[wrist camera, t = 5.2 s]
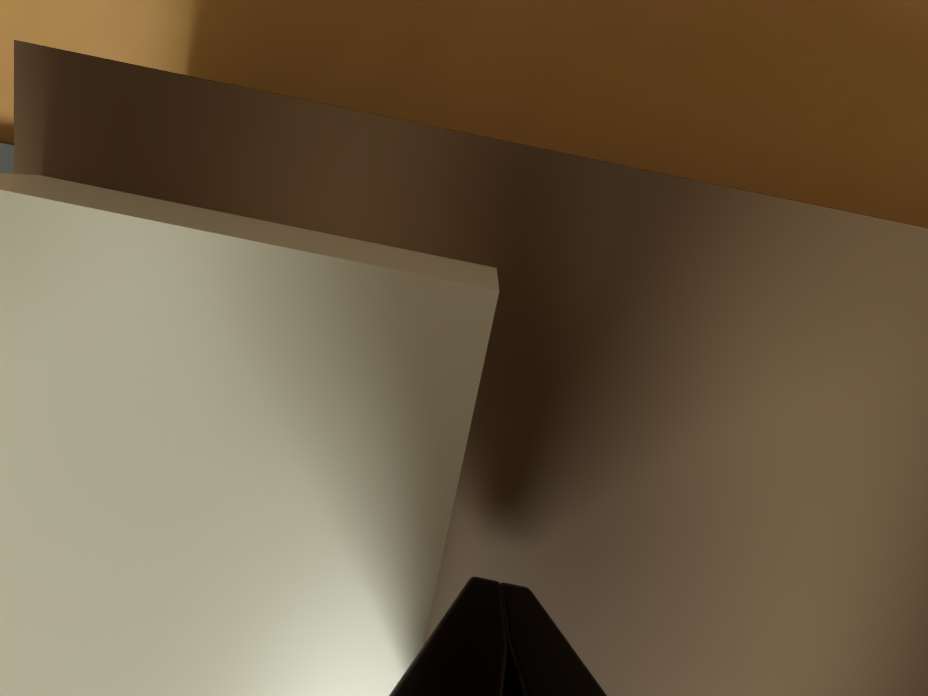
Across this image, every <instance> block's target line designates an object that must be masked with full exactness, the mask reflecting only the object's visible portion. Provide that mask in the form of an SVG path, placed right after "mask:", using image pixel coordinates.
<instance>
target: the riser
mask: <svg viewBox="0 0 928 696" xmlns="http://www.w3.org/2000/svg"><path fill="white" fill-rule="evenodd" d="M14 174H27V175H42V176H47V177H52V178H57V179H62V180H67V181H71V182H76V183H81V184H86V185H91V186H96V187H101V188H106V189H111V190H116V191H121V192H126V193H130V194H135V195H140V196H145V197H150V198H155V199H160V200H165V201H170V202H175V203H180V204H185V205H190V206H194V207H199V208H204V209H209V210H214V211H219V212H224V213H229V214H234V215H239V216H244V217H249V218H254V219H258V220H263V221H268V222H273V223H278V224H283V225H288V226H293V227H298V228H303V229H308V230H313V231H317V232H322V233H327V234H332V235H337V236H342V237H347V238H352V239H357V240H362V241H367V242H372V243H377V244H381V245H386V246H391V247H396V248H401V249H406V250H411V251H416V252H421V253H426V254H431V255H436V256H440V257H445V258H450V259H455V260H460V261H465V262H470V263H475V264H480V265H485V266H490V267H495V268H497V275H498V283H499V295H498V300H497V304H496V309H495V314H494V318H493V323H492V328H491V332H490V337H489V342H488V346H487V351H486V356H485V360H484V365H483V370H482V374H481V379H480V384H479V388H478V393H477V397H476V402H475V407H474V411H473V416H472V421H471V425H470V430H469V435H468V439H467V444H466V449H465V453H464V458H463V463H462V467H461V472H460V477H459V481H458V486H457V491H456V495H455V500H454V505H453V509H452V514H451V519H450V523H449V528H448V533H447V537H446V542H445V547H444V551H443V556H442V561H441V565H440V570H439V575H438V579H437V584H436V589H435V593H434V598H433V603H432V607H431V612H430V617H429V621H428V626H427V631H426V635H425V640H424V644H425V643H426V641H427V640H428V638H429V637H430V635H431V634H432V632H433V631H434V630H435V628H436V627H437V625H438V624H439V622H440V621H441V619H442V618H443V616H444V615H445V614H446V612H447V611H448V609H449V608H450V606H451V605H452V603H453V602H454V601H455V599H456V598H457V596H458V595H459V593H460V592H461V590H462V589H463V587H464V586H465V585H466V583H467V582H468V580H469V579H470V578H471V577H473V576H475V577H480V578H485V579H490V580H495V581H498V582H499V583H502V582H504V583H509V584H514V585H519V586H524V587H527V588H529V589H530V590H531V591H532V592H533V594H534V595H535V596H536V598H537V599H538V601H539V602H540V603H541V605H542V606H543V607H544V609H545V610H546V612H547V613H548V614H549V616H550V617H551V619H552V620H553V621H554V623H555V624H556V625H557V627H558V628H559V630H560V631H561V632H562V634H563V635H564V637H565V638H566V639H567V641H568V642H569V643H570V645H571V646H572V648H573V649H574V650H575V652H576V653H577V655H578V656H579V657H580V659H581V660H582V661H583V663H584V664H585V666H586V667H587V668H588V670H589V671H590V673H591V674H592V675H593V677H594V678H595V679H596V681H597V682H598V684H599V685H600V686H601V688H602V689H603V691H604V692H605V693H606V695H607V696H928V228H924V227H919V226H914V225H909V224H905V223H900V222H895V221H890V220H885V219H880V218H876V217H871V216H866V215H861V214H856V213H851V212H846V211H842V210H837V209H832V208H827V207H822V206H817V205H812V204H808V203H803V202H798V201H793V200H788V199H783V198H778V197H774V196H769V195H764V194H759V193H754V192H749V191H745V190H740V189H735V188H730V187H725V186H720V185H715V184H711V183H706V182H701V181H696V180H691V179H686V178H681V177H677V176H672V175H667V174H662V173H657V172H652V171H648V170H643V169H638V168H633V167H628V166H623V165H618V164H614V163H609V162H604V161H599V160H594V159H589V158H584V157H580V156H575V155H570V154H565V153H560V152H555V151H550V150H546V149H541V148H536V147H531V146H526V145H521V144H517V143H512V142H507V141H502V140H497V139H492V138H487V137H483V136H478V135H473V134H468V133H463V132H458V131H453V130H449V129H444V128H439V127H434V126H429V125H424V124H420V123H415V122H410V121H405V120H400V119H395V118H390V117H386V116H381V115H376V114H371V113H366V112H361V111H356V110H352V109H347V108H342V107H337V106H332V105H327V104H323V103H318V102H313V101H308V100H303V99H298V98H293V97H289V96H284V95H279V94H274V93H269V92H264V91H259V90H255V89H250V88H245V87H240V86H235V85H230V84H225V83H221V82H216V81H211V80H206V79H201V78H196V77H192V76H187V75H182V74H177V73H172V72H167V71H162V70H158V69H153V68H148V67H143V66H138V65H133V64H128V63H124V62H119V61H114V60H109V59H104V58H99V57H95V56H90V55H85V54H80V53H75V52H70V51H65V50H61V49H56V48H51V47H46V46H41V45H36V44H31V43H27V42H22V41H17V40H14Z"/></svg>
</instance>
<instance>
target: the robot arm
mask: <svg viewBox="0 0 928 696" xmlns="http://www.w3.org/2000/svg"><path fill="white" fill-rule="evenodd" d="M389 696H607V695H606V693H605V692H604V691H603V689H602V688H601V686H600V685H599V684H598V682H597V681H596V679H595V678H594V677H593V675H592V674H591V673H590V671H589V670H588V668H587V667H586V666H585V664H584V663H583V661H582V660H581V659H580V657H579V656H578V655H577V653H576V652H575V650H574V649H573V648H572V646H571V645H570V643H569V642H568V641H567V639H566V638H565V637H564V635H563V634H562V632H561V631H560V630H559V628H558V627H557V625H556V624H555V623H554V621H553V620H552V619H551V617H550V616H549V614H548V613H547V612H546V610H545V609H544V607H543V606H542V605H541V603H540V602H539V601H538V599H537V598H536V596H535V595H534V594H533V592H532V591H531V590H530V589H529V588H527V587H524V586H519V585H514V584H509V583H504V582H502V583H499V582H498V581H495V580H490V579H485V578H480V577H475V576H473V577H471V578H470V579H469V580H468V582H467V583H466V585H465V586H464V587H463V589H462V590H461V592H460V593H459V595H458V596H457V598H456V599H455V601H454V602H453V603H452V605H451V606H450V608H449V609H448V611H447V612H446V614H445V615H444V616H443V618H442V619H441V621H440V622H439V624H438V625H437V627H436V628H435V630H434V631H433V632H432V634H431V635H430V637H429V638H428V640H427V641H426V643H425V644H424V645H423V647H422V648H421V650H420V651H419V653H418V654H417V656H416V657H415V659H414V660H413V661H412V663H411V664H410V666H409V667H408V669H407V670H406V672H405V673H404V674H403V676H402V677H401V679H400V680H399V682H398V683H397V685H396V686H395V688H394V689H393V690H392V692H391V693H390V695H389Z"/></svg>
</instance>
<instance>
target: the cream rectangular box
mask: <svg viewBox="0 0 928 696" xmlns="http://www.w3.org/2000/svg"><path fill="white" fill-rule="evenodd" d="M498 295H499V283H498V275H497V268H495V267H490V266H485V265H480V264H475V263H470V262H465V261H460V260H455V259H450V258H445V257H440V256H436V255H431V254H426V253H421V252H416V251H411V250H406V249H401V248H396V247H391V246H386V245H381V244H377V243H372V242H367V241H362V240H357V239H352V238H347V237H342V236H337V235H332V234H327V233H322V232H317V231H313V230H308V229H303V228H298V227H293V226H288V225H283V224H278V223H273V222H268V221H263V220H258V219H254V218H249V217H244V216H239V215H234V214H229V213H224V212H219V211H214V210H209V209H204V208H199V207H194V206H190V205H185V204H180V203H175V202H170V201H165V200H160V199H155V198H150V197H145V196H140V195H135V194H130V193H126V192H121V191H116V190H111V189H106V188H101V187H96V186H91V185H86V184H81V183H76V182H71V181H67V180H62V179H57V178H52V177H47V176H42V175H27V174H10V173H0V696H389V695H390V693H391V692H392V690H393V689H394V688H395V686H396V685H397V683H398V682H399V680H400V679H401V677H402V676H403V674H404V673H405V672H406V670H407V669H408V667H409V666H410V664H411V663H412V661H413V660H414V659H415V657H416V656H417V654H418V653H419V651H420V650H421V648H422V647H423V645H424V640H425V635H426V631H427V626H428V621H429V617H430V612H431V607H432V603H433V598H434V593H435V589H436V584H437V579H438V575H439V570H440V565H441V561H442V556H443V551H444V547H445V542H446V537H447V533H448V528H449V523H450V519H451V514H452V509H453V505H454V500H455V495H456V491H457V486H458V481H459V477H460V472H461V467H462V463H463V458H464V453H465V449H466V444H467V439H468V435H469V430H470V425H471V421H472V416H473V411H474V407H475V402H476V397H477V393H478V388H479V384H480V379H481V374H482V370H483V365H484V360H485V356H486V351H487V346H488V342H489V337H490V332H491V328H492V323H493V318H494V314H495V309H496V304H497V300H498Z"/></svg>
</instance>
